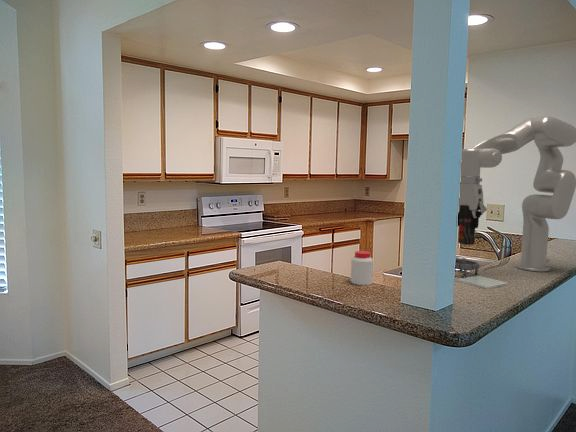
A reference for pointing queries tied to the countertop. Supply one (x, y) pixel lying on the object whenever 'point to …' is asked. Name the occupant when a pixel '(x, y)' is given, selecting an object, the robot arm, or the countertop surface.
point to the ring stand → (467, 267)
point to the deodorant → (466, 226)
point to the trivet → (482, 282)
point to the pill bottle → (362, 268)
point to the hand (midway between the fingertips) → (467, 226)
